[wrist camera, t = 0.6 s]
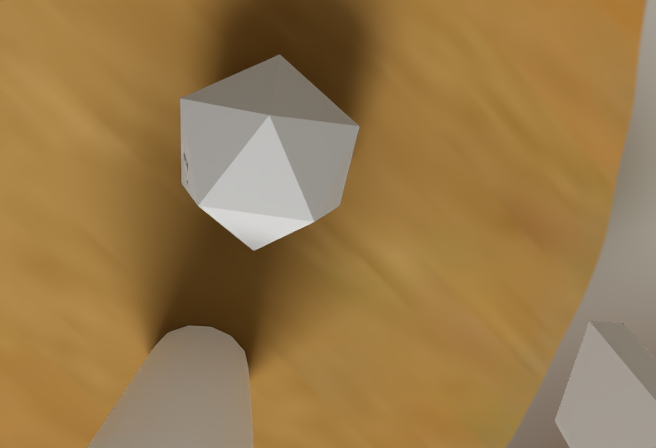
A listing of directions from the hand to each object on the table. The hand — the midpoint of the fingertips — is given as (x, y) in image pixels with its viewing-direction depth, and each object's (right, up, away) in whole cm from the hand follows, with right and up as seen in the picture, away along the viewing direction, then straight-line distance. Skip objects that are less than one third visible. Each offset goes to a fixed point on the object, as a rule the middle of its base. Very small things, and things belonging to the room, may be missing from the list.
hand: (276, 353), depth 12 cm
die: (-2, +8, +20) cm, 21 cm away
